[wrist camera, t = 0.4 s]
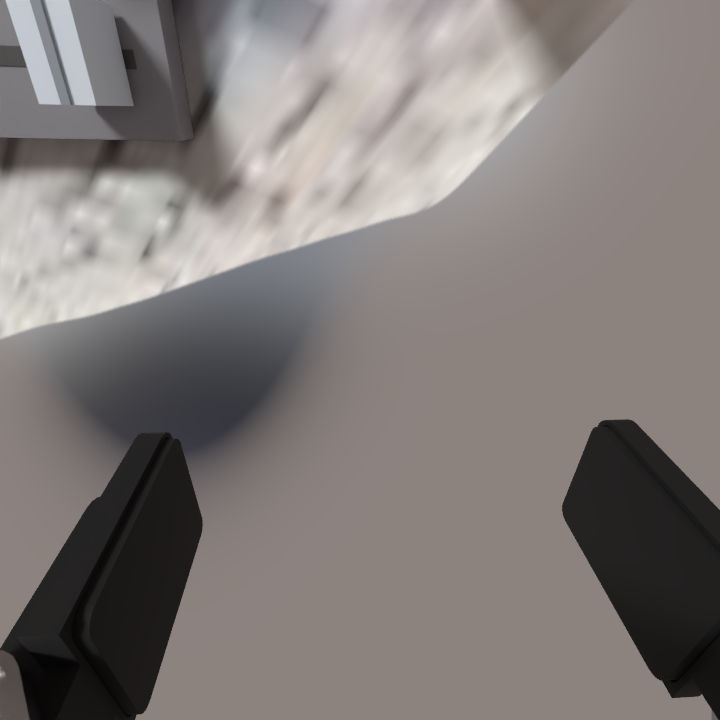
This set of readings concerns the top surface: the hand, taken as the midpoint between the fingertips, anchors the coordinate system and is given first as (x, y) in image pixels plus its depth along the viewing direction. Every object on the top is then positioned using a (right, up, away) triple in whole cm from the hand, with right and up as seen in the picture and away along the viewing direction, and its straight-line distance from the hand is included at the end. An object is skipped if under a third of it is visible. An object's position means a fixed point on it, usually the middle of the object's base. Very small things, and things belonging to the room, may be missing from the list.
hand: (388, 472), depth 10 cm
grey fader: (-17, +21, +16) cm, 31 cm away
